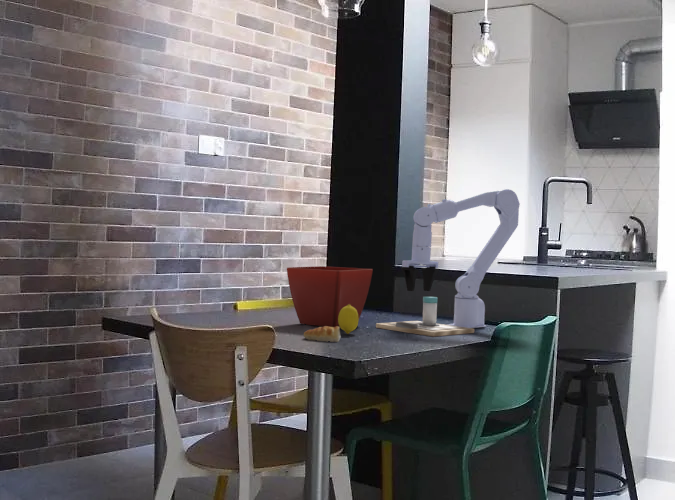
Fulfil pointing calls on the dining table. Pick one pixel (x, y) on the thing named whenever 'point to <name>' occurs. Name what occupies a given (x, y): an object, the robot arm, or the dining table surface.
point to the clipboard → (425, 328)
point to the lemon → (348, 318)
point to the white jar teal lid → (429, 310)
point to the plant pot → (327, 292)
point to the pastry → (323, 334)
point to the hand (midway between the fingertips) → (418, 290)
